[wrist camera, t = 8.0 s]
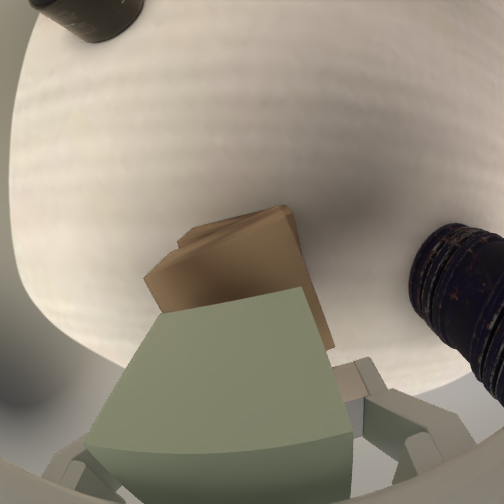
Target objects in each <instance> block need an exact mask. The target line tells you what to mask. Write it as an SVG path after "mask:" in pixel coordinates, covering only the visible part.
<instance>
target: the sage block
mask: <svg viewBox="0 0 504 504" xmlns="http://www.w3.org/2000/svg"><path fill="white" fill-rule="evenodd" d="M82 444H83V445H84V446H85V447H86V448H87V450H88V451H89V452H90V453H91V454H92V455H93V456H94V457H95V458H96V459H97V460H98V462H99V463H100V464H101V465H102V466H103V467H104V468H105V469H106V470H107V471H108V472H109V473H110V474H111V475H112V476H113V477H114V478H115V479H116V480H118V481H119V482H120V483H121V484H122V485H123V486H124V487H125V488H126V489H128V490H129V491H130V492H131V493H132V494H133V495H134V496H135V497H137V498H138V499H139V500H140V501H141V502H143V503H144V504H330V503H335V502H339V501H343V500H347V499H350V493H351V480H352V463H353V428H352V425H351V422H350V419H349V416H348V413H347V410H346V407H345V404H344V401H343V398H342V395H341V393H340V390H339V387H338V384H337V381H336V378H335V375H334V373H333V370H332V367H331V364H330V361H329V359H328V356H327V353H326V350H325V348H324V345H323V342H322V339H321V337H320V334H319V331H318V329H317V326H316V323H315V321H314V318H313V315H312V313H311V310H310V307H309V305H308V302H307V299H306V297H305V294H304V292H303V289H302V287H297V288H292V289H288V290H283V291H278V292H274V293H269V294H264V295H260V296H255V297H250V298H245V299H240V300H235V301H230V302H225V303H219V304H214V305H209V306H204V307H198V308H193V309H187V310H181V311H175V312H170V313H164V314H160V315H159V317H158V318H157V320H156V321H155V323H154V324H153V326H152V327H151V329H150V331H149V332H148V334H147V335H146V337H145V338H144V340H143V342H142V343H141V345H140V346H139V348H138V350H137V351H136V353H135V354H134V356H133V358H132V359H131V361H130V363H129V364H128V366H127V367H126V369H125V371H124V372H123V374H122V376H121V377H120V379H119V381H118V382H117V384H116V386H115V387H114V389H113V391H112V393H111V394H110V396H109V397H108V399H107V401H106V403H105V404H104V406H103V408H102V410H101V411H100V413H99V415H98V416H97V418H96V420H95V422H94V423H93V425H92V427H91V429H90V431H89V432H88V434H87V436H86V438H85V440H84V441H83V443H82Z"/></svg>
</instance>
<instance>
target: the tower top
mask: <svg viewBox="0 0 504 504" xmlns="http://www.w3.org/2000/svg"><path fill="white" fill-rule="evenodd" d="M143 279H144V281H145V283H146V284H147V286H148V288H149V290H150V292H151V294H152V295H153V297H154V299H155V301H156V303H157V304H158V306H159V308H160V310H161V311H162V313H163V314H164V313H170V312H175V311H181V310H187V309H193V308H198V307H204V306H209V305H214V304H219V303H225V302H230V301H235V300H240V299H245V298H250V297H255V296H260V295H264V294H269V293H274V292H278V291H283V290H288V289H292V288H297V287H302V289H303V292H304V294H305V297H306V299H307V302H308V305H309V307H310V310H311V313H312V315H313V318H314V321H315V323H316V326H317V329H318V331H319V334H320V337H321V339H322V342H323V345H324V348H325V350H326V351H327V350H329V349H332V348H334V347H335V345H334V342H333V339H332V336H331V333H330V331H329V328H328V325H327V322H326V319H325V317H324V314H323V311H322V308H321V306H320V303H319V300H318V298H317V295H316V292H315V289H314V287H313V284H312V282H311V279H310V276H309V274H308V271H307V268H306V266H305V263H304V261H303V258H302V256H301V253H300V251H299V248H298V246H297V243H296V241H295V238H294V236H293V233H292V231H291V228H290V226H289V223H288V221H287V218H286V216H285V215H284V214H283V212H282V211H281V209H280V208H279V206H276V207H273V208H271V209H268V210H266V211H264V212H261V213H259V214H256V215H254V216H252V217H249V218H247V219H245V220H242V221H240V222H238V223H235V224H233V225H231V226H228V227H226V228H224V229H222V230H219V231H217V232H215V233H212V234H210V235H208V236H206V237H203V238H201V239H199V240H197V241H194V242H192V243H190V244H188V245H185V246H183V247H181V248H179V249H177V250H174V251H172V252H170V253H169V254H168V255H167V256H166V257H165V258H164V259H163V260H162V261H161V262H160V263H159V264H157V265H156V266H155V267H154V268H153V269H152V270H151V271H150V272H149V273H148V274H147V275H146V276H145V277H144V278H143Z"/></svg>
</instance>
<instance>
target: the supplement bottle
mask: <svg viewBox="0 0 504 504" xmlns="http://www.w3.org/2000/svg"><path fill="white" fill-rule="evenodd" d="M28 1H29V4H30V5H31V6H32V7H33V8H34V9H36V10H37V11H39V12H40V13H42V14H44V15H45V16H47V17H49V18H50V19H52V20H53V21H55V22H56V23H58V24H60V25H61V26H63V27H64V28H66V29H67V30H69V31H70V32H72V33H73V34H75V35H76V36H78V37H79V38H81V39H83V40H85V41H89V42H97V41H102V40H105V39H108V38H110V37H112V36H114V35H116V34H118V33H119V32H121V31H122V30H124V29H125V28H126V27H127V26H128V25H129V24H130V23H131V22H132V21H133V20H134V19H135V17H136V16H137V15H138V13H139V11H140V9H141V7H142V3H143V0H28Z"/></svg>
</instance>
